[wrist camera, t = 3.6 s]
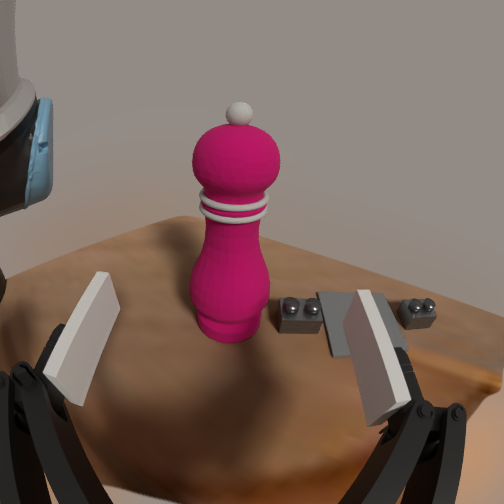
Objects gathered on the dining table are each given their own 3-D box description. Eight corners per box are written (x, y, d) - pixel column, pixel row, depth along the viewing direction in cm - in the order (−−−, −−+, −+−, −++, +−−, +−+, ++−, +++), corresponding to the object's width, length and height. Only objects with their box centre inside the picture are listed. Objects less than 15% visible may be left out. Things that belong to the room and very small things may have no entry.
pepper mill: (276, 312, 28) (311, 108, 17) (240, 360, 23) (263, 108, 11) (220, 286, 31) (227, 98, 20) (178, 324, 26) (160, 102, 14)
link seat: (332, 357, 24) (333, 355, 23) (317, 293, 31) (317, 291, 31) (407, 350, 24) (408, 349, 24) (382, 294, 31) (383, 293, 31)
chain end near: (279, 333, 26) (283, 314, 24) (277, 311, 28) (281, 291, 27) (317, 333, 26) (325, 315, 24) (313, 312, 28) (319, 293, 27)
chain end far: (405, 329, 26) (416, 312, 25) (396, 311, 29) (406, 294, 27) (429, 327, 27) (440, 311, 25) (420, 310, 29) (430, 294, 28)
